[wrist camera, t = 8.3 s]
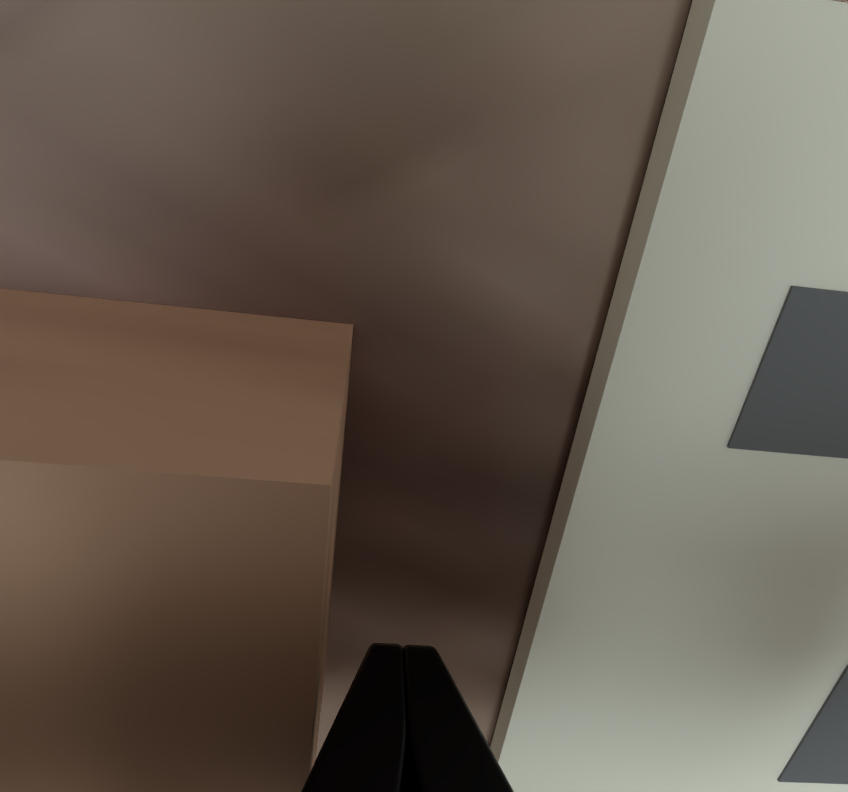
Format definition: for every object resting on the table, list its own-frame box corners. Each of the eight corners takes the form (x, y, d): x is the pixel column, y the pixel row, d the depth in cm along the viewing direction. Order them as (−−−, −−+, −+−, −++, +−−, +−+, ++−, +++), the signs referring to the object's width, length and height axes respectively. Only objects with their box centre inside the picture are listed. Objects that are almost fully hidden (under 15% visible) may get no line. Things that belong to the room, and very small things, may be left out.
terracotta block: (325, 663, 12) (299, 910, 9) (-69, 643, 12) (-271, 902, 8) (354, 317, 9) (331, 485, 6) (-188, 262, 8) (-612, 413, 5)
